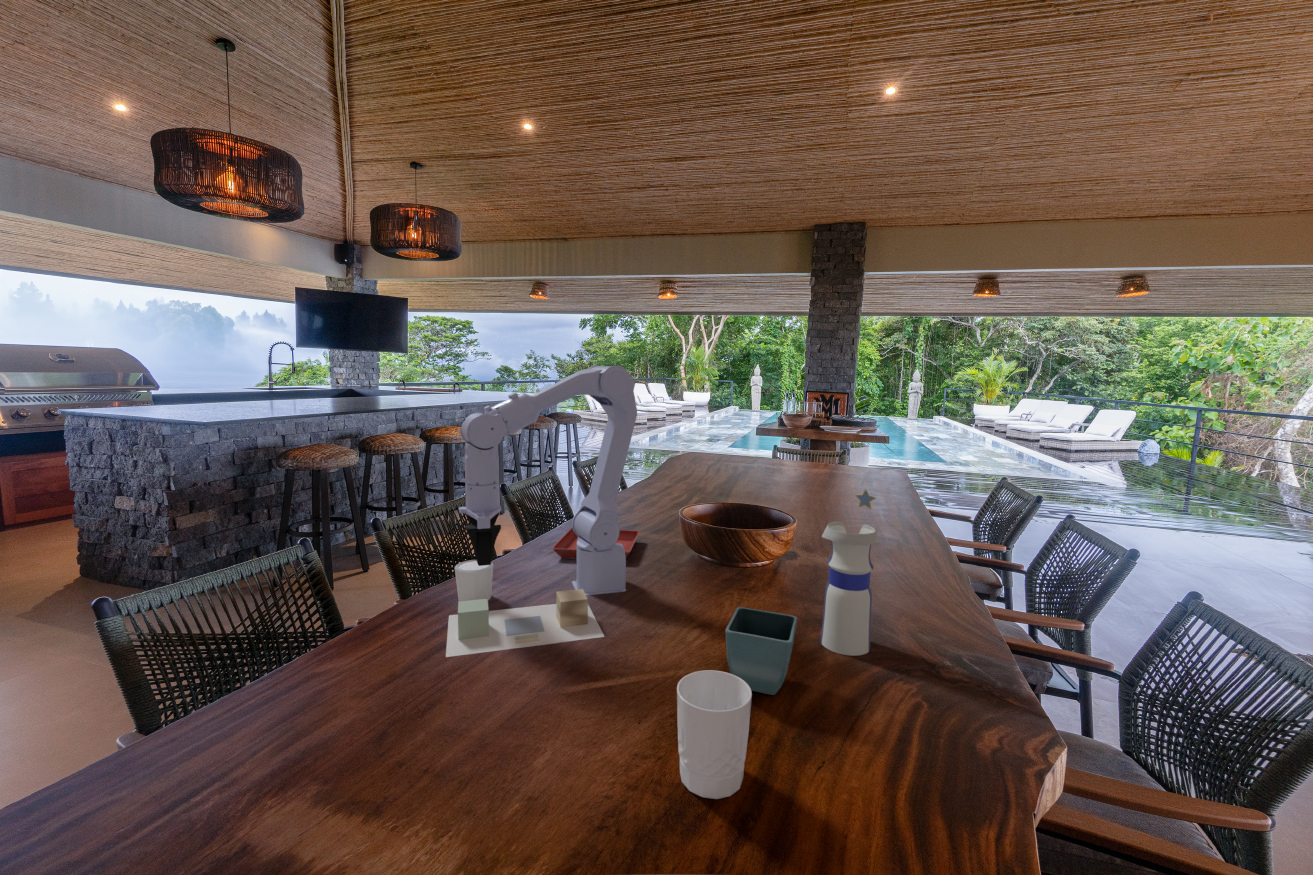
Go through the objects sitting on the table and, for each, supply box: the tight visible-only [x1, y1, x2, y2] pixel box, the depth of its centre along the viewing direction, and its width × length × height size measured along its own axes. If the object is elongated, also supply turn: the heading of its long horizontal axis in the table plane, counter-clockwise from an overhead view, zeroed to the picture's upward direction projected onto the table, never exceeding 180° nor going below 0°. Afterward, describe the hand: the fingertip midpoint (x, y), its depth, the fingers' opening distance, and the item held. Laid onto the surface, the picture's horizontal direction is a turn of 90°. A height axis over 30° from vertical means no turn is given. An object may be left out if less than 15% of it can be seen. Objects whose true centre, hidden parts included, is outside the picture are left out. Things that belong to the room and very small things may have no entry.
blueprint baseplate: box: [445, 603, 605, 658], centre depth 95 cm, size 24×15×1 cm, turn 108°
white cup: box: [676, 669, 753, 800], centre depth 61 cm, size 8×8×10 cm
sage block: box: [457, 599, 490, 640], centre depth 92 cm, size 5×5×4 cm
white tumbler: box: [454, 559, 495, 602], centre depth 105 cm, size 7×7×7 cm
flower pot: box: [725, 606, 798, 696], centre depth 79 cm, size 9×9×9 cm
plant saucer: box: [552, 527, 641, 560], centre depth 137 cm, size 18×18×3 cm
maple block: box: [555, 589, 589, 627], centre depth 97 cm, size 5×5×4 cm
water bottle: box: [820, 489, 880, 657], centre depth 91 cm, size 8×9×25 cm
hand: (484, 557), depth 101 cm, fingers open, 7 cm apart
